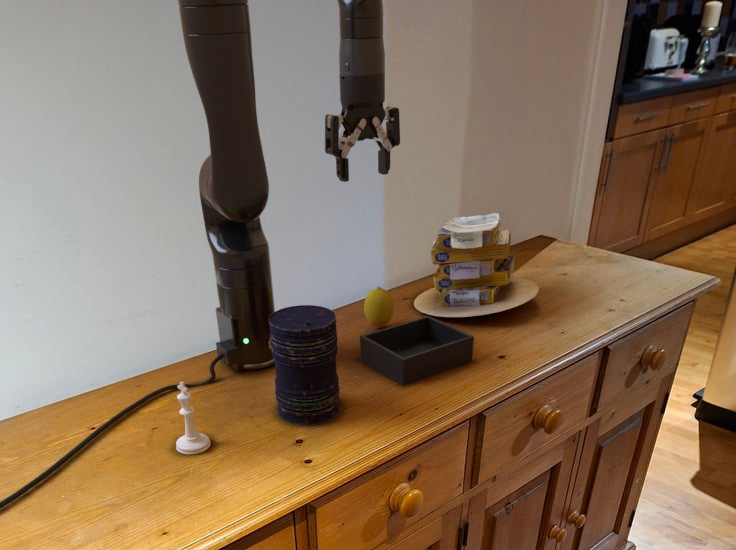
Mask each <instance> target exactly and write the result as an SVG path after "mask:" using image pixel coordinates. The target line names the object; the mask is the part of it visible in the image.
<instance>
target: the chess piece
mask: <svg viewBox="0 0 736 550" xmlns="http://www.w3.org/2000/svg"><path fill="white" fill-rule="evenodd" d="M179 384H180V385H178V389H177V390H180V393H178V394H177V395H176V398H177V401H178V402H179V404H180V406H181V408H180V409H179V414H180V415H182V416H184V433H185V434H183V435H182V436H180V437H179V438H178V439H177V440H176V442H175V449H176V451H177V452H178V453H180V454H183V455H197V454H200V453H204V452H205V451H207V450H208V449H209V448H210V447H211V440H210V437H209V436H208V435H206V434H205V433H201V432H198V431H197V428H196V425H195V422H194V418H193V416H192V415H193V414H194V413H195V412H196V410H195V408H194V407H193V406H191V404H192V400H193V399H192V398H193V395H192V393H191V392H189V388H187V387H185V385H184V384H185V382H184V381H180V382H179Z"/></svg>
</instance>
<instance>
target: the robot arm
mask: <svg viewBox="0 0 736 550" xmlns="http://www.w3.org/2000/svg"><path fill="white" fill-rule="evenodd" d="M177 3H178V11H179V12H178V13H179V19H180V26H181V33H182V38H183V44H184V49H185V53H186V54H185V55H186V57H187V61H188V65H189V68H190V71H191V75H192V78H193V81H194V84H195V87H196V90H197V92H198V96H199V98H200V102H201V105H202V108H203V111H204V115H205V119H206V124H207V131H208V136H209V137H208V139H209V149H210V150H209V151H210V155H208V156H207V157H206V158H205V159H204V161H203V162H202V165H201V167H200V170H199V174H198V192H199V199H200V200H199V201H200V205H201V212H202V218H203V222H204V230H205V236H206V240H207V243H208V246H209V248H210V252H211V255H212V262H213V268H214V269H213V270H214V277H215V283H216V288H217V289H216V290H217V297H218V304H219V306H218V307H216V308H215V314H216V323H217V329H218V337H219V341H217V342H216V343H215V347H216V354H217V356H216V357H215V358H214V359H213V360H212V361H211V363H210V365H209V373H210V377H209V378H208V379H207V380H205V381H204V382H200V383H192V384H191V383H189V384H188V383H184V385H185V387H187V388H188V389H189V388H196V387H201V386H205V385H209V384H211V383H213V382H214V380H215V379H216V377H217V376H216V372H215V371H216V370H215V366H216V364H217V363H218V362H219V361H220V362H222V363H223V364H225V365H226V366H228V367H231V368H233V369H234V370H235V371H237V372H241V371H254V370H262V369H266V368H268V367H271V366H273V365H275V361H274V358H273V356H272V353H271V349H272V347H271V343H270V326H269V317H270V315H271V314H272V313H274V312H276V309H275V308H276V307H275V299H274V298H275V296H274V286H273V285H274V284H273V275H272V263H271V254H270V253H271V252H270V244H269V241H268V240H267V237H266V235H265V232H264V229H263V226H262V222H261V215H262V214H263V212H264V211H265V209H266V207H267V204H268V200H269V194H270V181H269V176H268V172H267V166H266V161H265V155H264V149H263V144H262V140H261V134H260V129H259V122H258V114H257V97H256V79H255V68H254V58H253V45H252V43H253V42H252V29H251V19H250V7H249V0H177ZM337 6H338V18H339V19H338V21H339V23H338V24H339V25H338V26H339V47H338V48H339V49H338V70H339V71H338V72H339V101H340V104H341V112H340V114H329V113H327V114H325V117H324V153H325V154H327V155H330V156H333V157H334V158H335V167H336V168H335V169H336V170H335V171H336V177H337V178H338V180H339V181H340V182H343V183H347V182H349V181H350V167H349V163H350V162H349V158H348V155H349V153H350V151H351V149H352V148H353V147H354V146H355V145H356V143H357V142H363V141H364V140H373V141H374V142H375V145H376V146H377V147H378V149H379V150H377V172H378V174H380V175H384V176H385V175H388V174H389V171H390V169H391V151H392V149H393V148H395V147H398V146H400V144H401V125H400V124H401V122H400V121H401V120H400V109H399V108H398V107H395V106H386V107H385V108H384V103H385V100H386V51H385V42H384V2H383V0H337ZM384 121H385V129H384V127H383V125H382V124H383V122H384ZM341 127H343V129H342V130H341V133H340V128H341ZM178 385H180V383H179V384H171V385H166V386H163V387H160V388H158V389H156V390H154V391H151V392H149V393H148V394H147V395H145V396H143V397H141V398H140V399H138V400H136V401H135V402H133V403H132V404H130V405H128V406H127V407H126V408H124V409H123V410H121V411H119V412H118V413H117V414H115V415H114V416H113V417H111V418H110V419H108V420H107V421H106V422H105V423H103V424H102V425H100V427H98V428H97V429H95V430H94V431H93V432H92V433H90V434H89V435H88V436H87V437H86V438H84V439H83V440H82V441H81V442H79V443H78V444H77V445H76V446H75V447H73V448H72V449H71V450H70V451H69V452H67V453H66V454H64V455H63V457H61V458H60V459H58V461H56V462H55V463H53V464H52V465H51V466H50V467H49V468H47V469H46V470H45V471H43V472H42V473H41V474H39V475H38V476H37V477H35V478H33V480H31V481H30V482H28V483H27V484H25V485H24V486H22V487H21V488H19V489H18V490H17V491H15V492H13V493H12V494H11V495H9V496H7V497H6V498H4V499H2V500H1V501H0V509H2V508H4V507H5V506H7V505H9V504H10V503H12V502H13V501H15V500H16V499H18V498H20V497H21V496H22V495H24V494H25V493H27V492H28V491H30V490H31V489H33V488H34V487H35V486H36V485H38V484H39V483H41V482H42V481H44V479H46V478H48V477H49V476H50V475H52V474H53V473H54V472H55V471H57V469H59V468H60V467H62V466H63V465H64V464H65V463H66V462H68V461H69V460H70V459H71V458H72V457H73V456H75V455H76V454H77V453H78V452H80V451H81V450H82V449H83V448H85V447H86V446H87V445H88V444H89V443H90V442H92V441H93V440H94V439H95V438H97V436H99V435H100V434H102V433H103V432H105V430H107V429H108V428H110V427H111V426H112V425H113V424H114V423H116V422H117V421H119V420H120V419H121V418H122V417H124V416H126V415H127V414H129V413H130V412H131V411H133V410H134V409H136V408H138V407H140V406H141V405H143V404H144V403H146V402H147V401H149V400H151V399H152V398H154V397H156V396H158V395H160V394H163V393H165V392H168V391H171V390H179V389H178Z"/></svg>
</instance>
